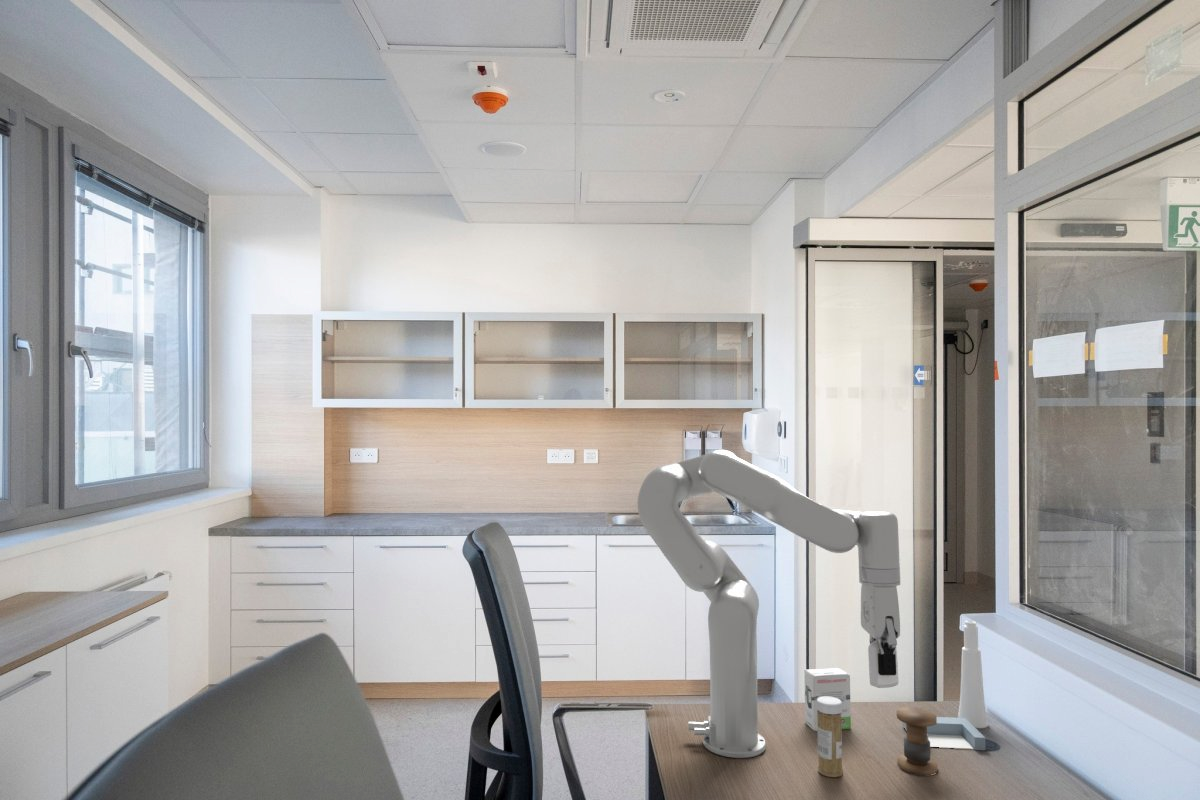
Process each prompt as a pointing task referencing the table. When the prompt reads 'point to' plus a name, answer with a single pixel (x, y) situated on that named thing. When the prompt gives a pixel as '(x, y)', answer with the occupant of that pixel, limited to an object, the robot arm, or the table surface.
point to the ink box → (826, 693)
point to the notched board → (954, 734)
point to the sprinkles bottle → (829, 736)
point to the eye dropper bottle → (875, 677)
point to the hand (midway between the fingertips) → (883, 669)
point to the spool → (917, 741)
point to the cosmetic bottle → (972, 679)
